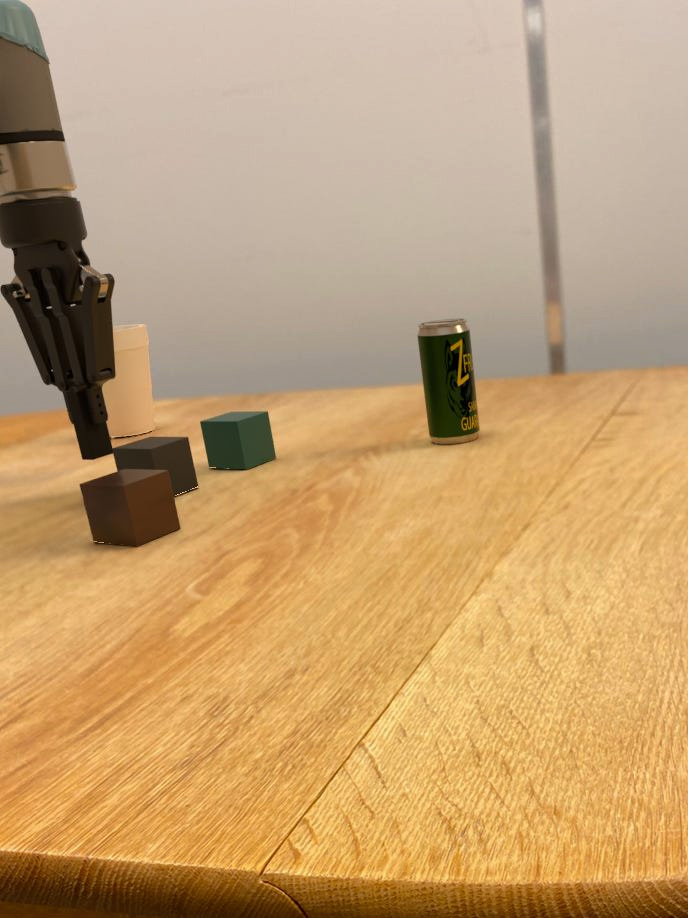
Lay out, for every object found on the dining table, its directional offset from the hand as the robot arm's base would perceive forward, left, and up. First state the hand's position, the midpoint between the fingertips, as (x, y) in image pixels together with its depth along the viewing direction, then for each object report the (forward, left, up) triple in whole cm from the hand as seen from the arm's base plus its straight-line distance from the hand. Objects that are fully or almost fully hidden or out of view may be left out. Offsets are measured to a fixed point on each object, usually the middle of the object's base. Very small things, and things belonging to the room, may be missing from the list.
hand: (98, 456), depth 105 cm
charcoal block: (+8, 0, -4) cm, 8 cm away
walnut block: (+17, -12, -4) cm, 21 cm away
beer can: (+27, +24, -4) cm, 36 cm away
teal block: (+8, +12, -4) cm, 15 cm away
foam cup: (-23, +26, -4) cm, 35 cm away
